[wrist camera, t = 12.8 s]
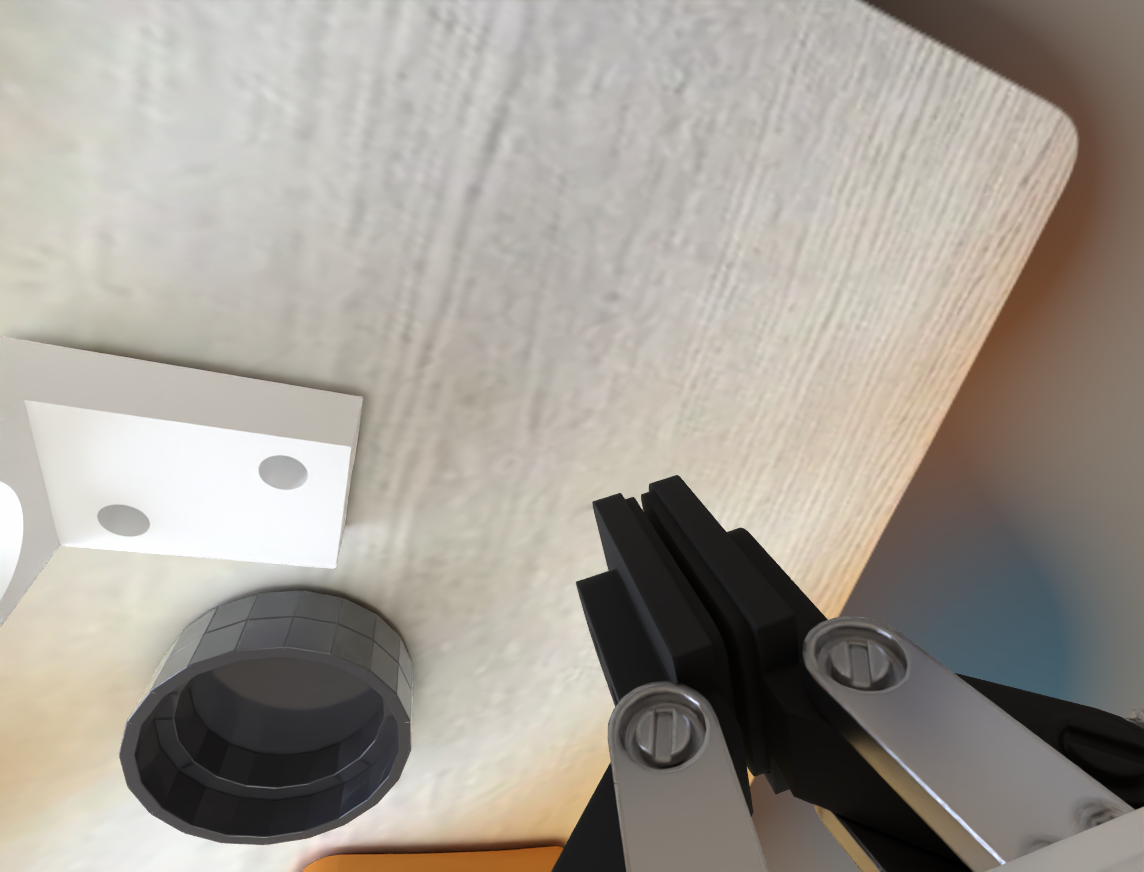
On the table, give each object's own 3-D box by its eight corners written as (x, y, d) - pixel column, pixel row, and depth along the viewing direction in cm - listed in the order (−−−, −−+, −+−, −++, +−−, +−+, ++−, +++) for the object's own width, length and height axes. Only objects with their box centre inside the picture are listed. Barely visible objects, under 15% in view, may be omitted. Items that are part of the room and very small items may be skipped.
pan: (112, 633, 28) (59, 708, 24) (365, 553, 29) (355, 610, 25) (231, 793, 33) (203, 877, 29) (442, 718, 35) (443, 788, 30)
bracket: (31, 478, 26) (-100, 627, 20) (-6, 334, 22) (-183, 465, 16) (347, 513, 29) (319, 647, 23) (363, 397, 26) (334, 520, 20)
